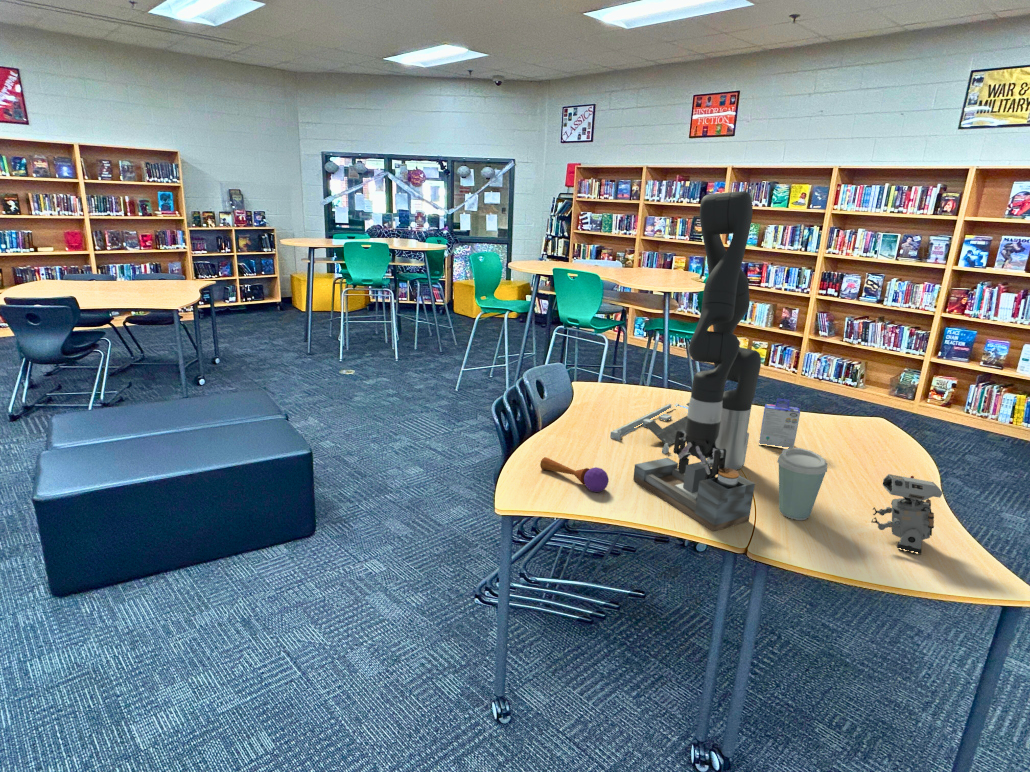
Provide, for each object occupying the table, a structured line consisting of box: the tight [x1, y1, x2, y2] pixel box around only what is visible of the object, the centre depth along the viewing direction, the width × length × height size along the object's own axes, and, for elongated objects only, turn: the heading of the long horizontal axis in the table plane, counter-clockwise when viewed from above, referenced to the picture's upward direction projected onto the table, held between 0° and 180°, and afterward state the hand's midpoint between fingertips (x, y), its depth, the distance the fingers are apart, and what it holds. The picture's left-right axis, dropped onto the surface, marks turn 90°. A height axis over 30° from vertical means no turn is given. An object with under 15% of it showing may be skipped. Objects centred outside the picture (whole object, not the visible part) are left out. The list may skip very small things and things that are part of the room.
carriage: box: [675, 461, 711, 501], centre depth 146 cm, size 6×7×8 cm
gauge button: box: [717, 468, 740, 489], centre depth 137 cm, size 4×4×4 cm
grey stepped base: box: [632, 457, 756, 532], centre depth 148 cm, size 11×28×10 cm, turn 28°
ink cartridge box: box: [758, 397, 801, 448], centre depth 185 cm, size 10×6×14 cm, turn 70°
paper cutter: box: [609, 402, 689, 455], centre depth 198 cm, size 18×45×6 cm, turn 140°
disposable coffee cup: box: [776, 447, 828, 521], centre depth 142 cm, size 11×11×15 cm
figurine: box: [871, 473, 943, 554], centre depth 132 cm, size 9×12×15 cm
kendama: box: [539, 456, 609, 493], centre depth 157 cm, size 6×6×20 cm
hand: (695, 480), depth 147 cm, fingers open, 8 cm apart
